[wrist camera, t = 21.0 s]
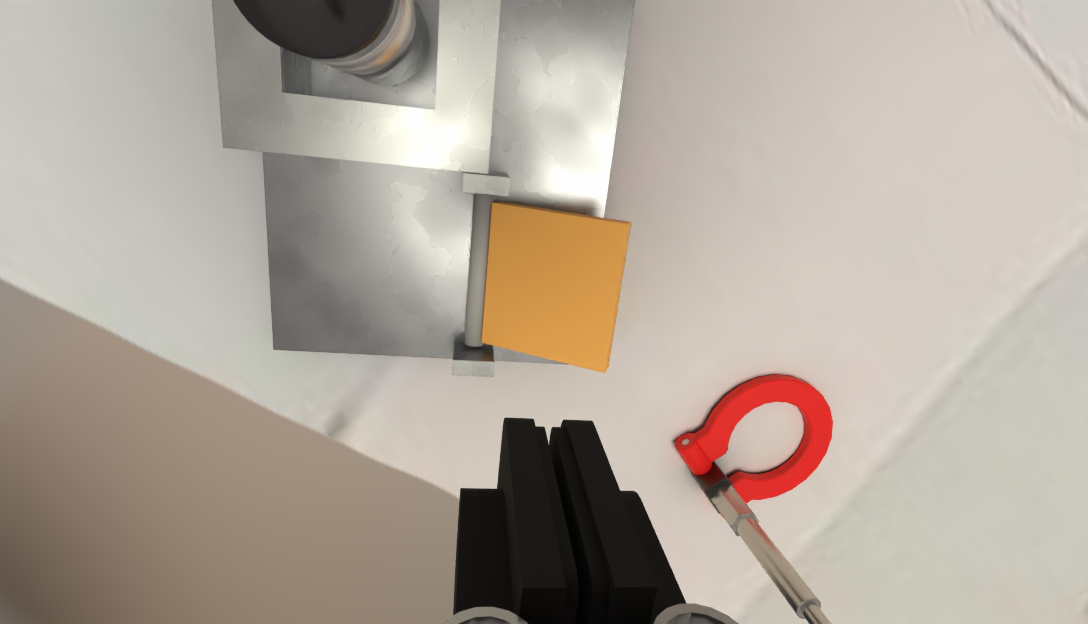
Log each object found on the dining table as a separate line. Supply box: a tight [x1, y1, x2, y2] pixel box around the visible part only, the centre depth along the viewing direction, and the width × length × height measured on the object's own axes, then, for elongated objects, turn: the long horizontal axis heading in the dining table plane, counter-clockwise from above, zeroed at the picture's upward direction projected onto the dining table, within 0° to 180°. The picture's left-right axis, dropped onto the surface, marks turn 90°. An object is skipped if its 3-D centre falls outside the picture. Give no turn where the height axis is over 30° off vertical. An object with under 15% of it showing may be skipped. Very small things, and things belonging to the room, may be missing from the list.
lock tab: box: [464, 193, 631, 373], centre depth 26 cm, size 8×1×8 cm
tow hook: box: [675, 374, 833, 624], centre depth 28 cm, size 8×13×9 cm
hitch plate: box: [212, 0, 634, 377], centre depth 24 cm, size 22×16×5 cm
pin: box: [233, 0, 429, 85], centre depth 18 cm, size 4×4×11 cm
